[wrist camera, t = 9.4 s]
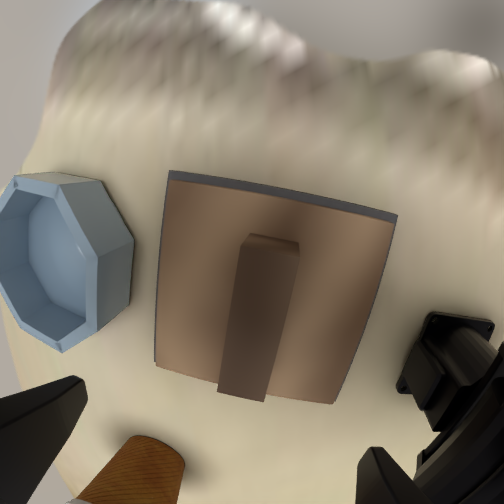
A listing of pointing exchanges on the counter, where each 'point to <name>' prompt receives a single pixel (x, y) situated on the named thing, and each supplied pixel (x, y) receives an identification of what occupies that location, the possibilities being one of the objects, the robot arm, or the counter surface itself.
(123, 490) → the disposable coffee cup
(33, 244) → the bowl
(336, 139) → the counter surface
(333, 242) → the cover
